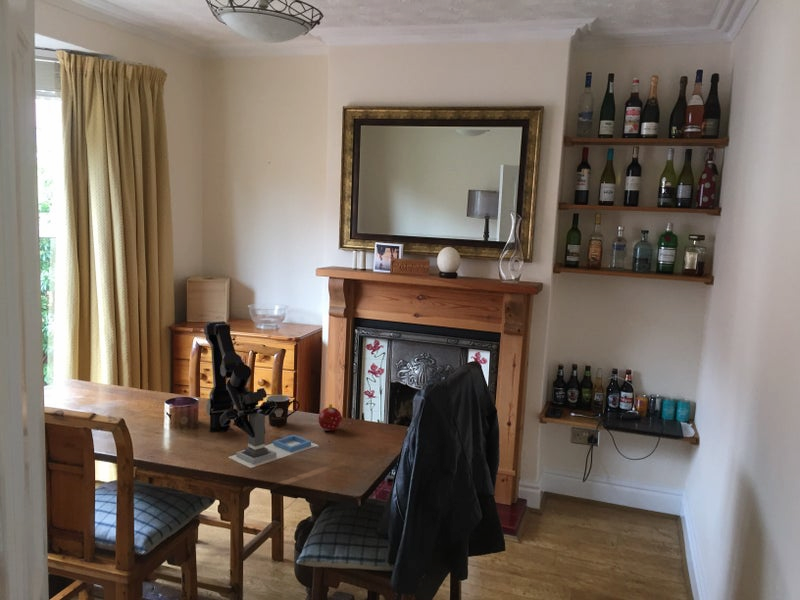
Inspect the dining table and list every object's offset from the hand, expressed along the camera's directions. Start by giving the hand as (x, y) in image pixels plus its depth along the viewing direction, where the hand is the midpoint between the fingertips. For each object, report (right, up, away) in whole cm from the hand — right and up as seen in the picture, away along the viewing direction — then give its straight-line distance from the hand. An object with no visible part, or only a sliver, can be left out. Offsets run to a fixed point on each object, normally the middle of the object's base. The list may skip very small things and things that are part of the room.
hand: (259, 435), depth 199 cm
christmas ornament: (+19, -5, +33) cm, 38 cm away
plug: (-1, -6, +2) cm, 7 cm away
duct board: (+3, -8, +8) cm, 11 cm away
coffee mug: (0, -4, +37) cm, 37 cm away
